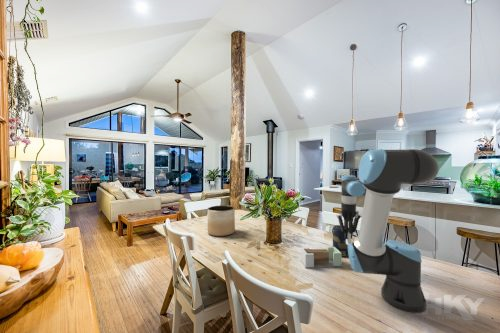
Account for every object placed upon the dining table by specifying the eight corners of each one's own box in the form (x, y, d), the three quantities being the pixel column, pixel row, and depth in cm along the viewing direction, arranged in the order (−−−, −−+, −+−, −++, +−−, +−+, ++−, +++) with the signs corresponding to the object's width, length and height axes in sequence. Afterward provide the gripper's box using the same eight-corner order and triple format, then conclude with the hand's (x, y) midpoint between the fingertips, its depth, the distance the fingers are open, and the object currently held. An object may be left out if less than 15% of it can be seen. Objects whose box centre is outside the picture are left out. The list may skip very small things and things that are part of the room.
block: (328, 264, 120) (328, 252, 119) (306, 264, 120) (306, 251, 120) (326, 261, 124) (326, 249, 123) (305, 261, 124) (305, 249, 124)
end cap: (341, 265, 118) (341, 253, 117) (333, 266, 117) (333, 253, 117) (334, 258, 126) (334, 246, 126) (327, 258, 126) (327, 246, 126)
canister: (351, 258, 129) (351, 228, 128) (334, 256, 131) (334, 227, 130) (347, 251, 138) (347, 223, 138) (331, 250, 140) (331, 222, 140)
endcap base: (342, 267, 117) (342, 253, 117) (305, 268, 117) (305, 254, 117) (334, 259, 127) (334, 247, 126) (300, 260, 126) (301, 247, 126)
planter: (212, 227, 189) (212, 205, 188) (237, 228, 186) (237, 205, 185) (203, 236, 167) (203, 210, 166) (231, 237, 164) (231, 211, 163)
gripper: (356, 201, 126) (356, 241, 126) (334, 201, 125) (334, 242, 126) (363, 204, 118) (363, 246, 119) (340, 204, 118) (339, 247, 118)
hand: (348, 244), depth 122 cm, fingers closed
